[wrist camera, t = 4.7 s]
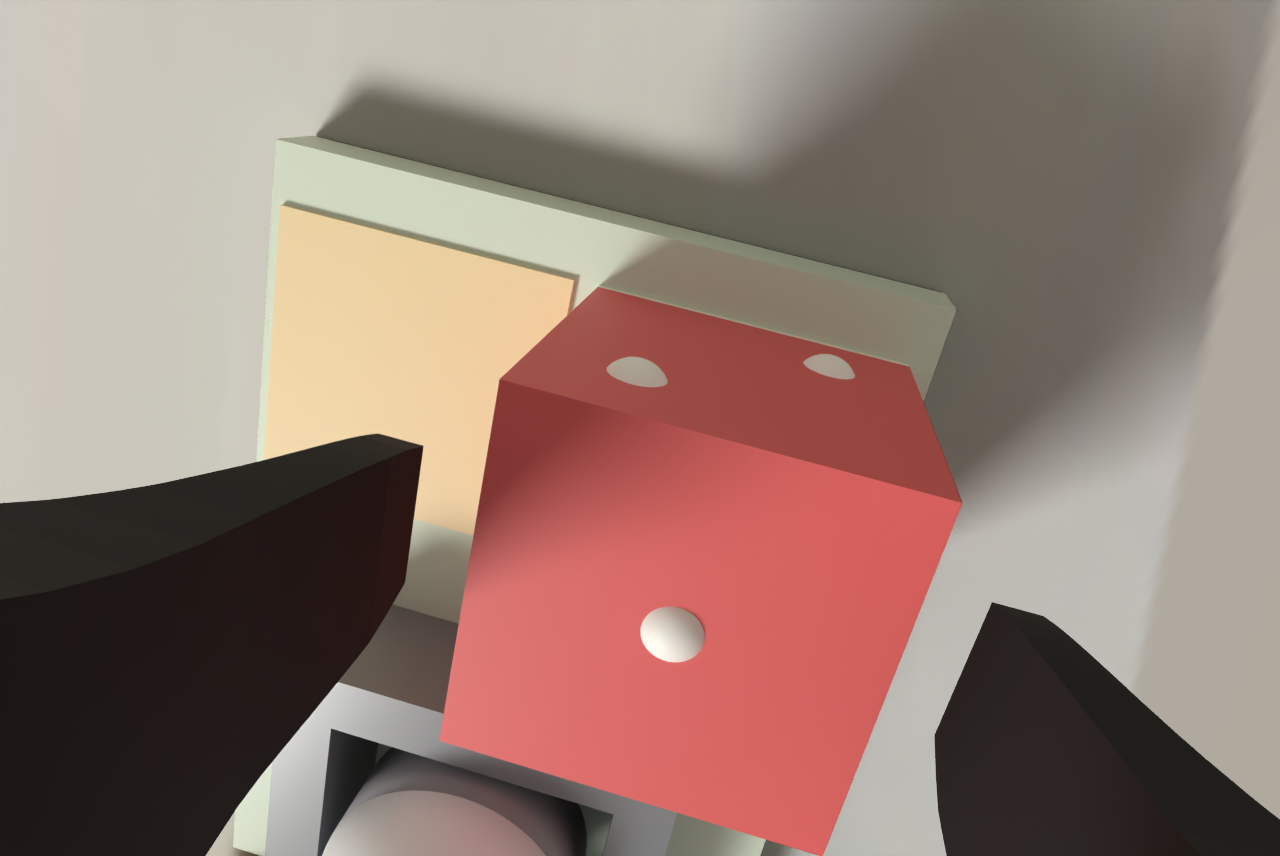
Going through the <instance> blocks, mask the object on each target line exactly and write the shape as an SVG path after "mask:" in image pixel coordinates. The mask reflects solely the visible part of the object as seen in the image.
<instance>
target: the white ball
mask: <svg viewBox="0 0 1280 856" xmlns="http://www.w3.org/2000/svg"><path fill="white" fill-rule="evenodd" d="M586 849H587V831H586V825H585V820H584V817H583V814H582V811H581V809H580V806H579V804H578V803H574V802H571V801H568V800H564V799H561V798H558V797H555V796H551V795H548V794H545V793H541V792H538V791H535V790H532V789H528V788H525V787H522V786H518V785H515V784H512V783H509V782H505V781H502V780H499V779H495V778H492V777H489V776H486V775H482V774H479V773H476V772H472V771H469V770H466V769H463V768H459V767H456V766H453V765H449V764H446V763H443V762H440V761H436V760H433V759H430V758H426V757H423V756H420V755H417V754H413V753H410V752H407V751H403V750H400V749H397V748H393V747H392V748H390V749H389V750H388V751H387V752H386V753H385V754H384V755H383V756H382V757H381V758H380V760H379V761H378V763H377V764H376V766H375V767H374V769H373V771H372V772H371V774H370V775H369V777H368V778H367V780H366V782H365V783H364V785H363V786H362V788H361V789H360V791H359V793H358V794H357V796H356V797H355V799H354V800H353V802H352V804H351V805H350V807H349V808H348V810H347V811H346V813H345V815H344V816H343V818H342V819H341V821H340V822H339V824H338V826H337V827H336V829H335V830H334V832H333V834H332V835H331V837H330V839H329V841H328V843H327V845H326V847H325V850H324V852H323V855H322V856H585V855H586Z"/></svg>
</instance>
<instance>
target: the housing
mask: <svg viewBox="0 0 1280 856" xmlns="http://www.w3.org/2000/svg"><path fill="white" fill-rule="evenodd" d="M458 625H459V624H458V623H454V622H451V621H448V620H444V619H441V618H437V617H434V616H430V615H427V614H423V613H420V612H417V611H413V610H410V609H406V608H403V607H399V606H396V605H392V606H391V608H390V610H389V611H388V613H387V615H386V617H385V618H384V620H383V621H382V623H381V625H380V626H379V628H378V629H377V631H376V633H375V634H374V636H373V637H372V639H371V641H370V642H369V644H368V645H367V646H366V648H365V649H364V650H363V651H362V653H361V654H360V655H359V656H358V658H357V659H356V660H355V661H354V663H353V664H352V665H351V666H350V668H349V669H348V670H347V671H346V673H345V674H344V675H343V676H342V678H341V679H340V680H339V681H338V683H337V684H336V685H335V686H334V688H333V689H332V690H331V691H330V692H329V694H328V695H327V696H326V697H325V698H324V700H323V701H322V702H321V703H320V705H319V706H318V707H317V708H316V709H315V711H314V712H313V713H312V714H311V716H310V717H309V718H308V719H307V720H306V722H305V723H304V724H303V725H302V726H301V728H300V729H299V730H298V731H297V733H296V734H295V735H294V736H293V737H292V739H291V740H290V741H289V742H288V744H287V745H286V746H285V747H284V748H283V750H282V751H281V752H280V753H279V754H278V756H277V757H276V758H275V759H274V761H273V762H272V771H271V784H270V797H269V809H268V822H267V835H266V847H265V856H322V855H323V852H324V850H325V847H326V845H327V843H328V841H329V839H330V837H331V835H332V834H333V832H334V830H335V829H336V827H337V826H338V824H339V822H340V821H341V819H342V818H343V816H344V815H345V813H346V811H347V810H348V808H349V807H350V805H351V804H352V802H353V800H354V799H355V797H356V796H357V794H358V793H359V791H360V789H361V788H362V786H363V785H364V783H365V782H366V780H367V778H368V777H369V775H370V774H371V772H372V771H373V769H374V767H375V761H376V754H377V746H378V743H380V744H384V745H387V746H390V747H393V748H397V749H400V750H403V751H407V752H410V753H413V754H417V755H420V756H423V757H426V758H430V759H433V760H436V761H440V762H443V763H446V764H449V765H453V766H456V767H459V768H463V769H466V770H469V771H472V772H476V773H479V774H482V775H486V776H489V777H492V778H495V779H499V780H502V781H505V782H509V783H512V784H515V785H518V786H522V787H525V788H528V789H532V790H535V791H538V792H541V793H545V794H548V795H551V796H555V797H558V798H561V799H564V800H568V801H571V802H574V803H578V804H581V805H584V806H587V807H591V808H594V809H597V810H601V811H604V812H607V813H610V814H613V816H612V820H611V824H610V827H609V831H608V835H607V838H606V842H605V846H604V850H603V853H602V856H665V853H666V850H667V847H668V843H669V840H670V837H671V834H672V830H673V827H674V824H675V820H676V817H677V814H678V813H676V812H673V811H670V810H666V809H663V808H660V807H657V806H653V805H650V804H647V803H643V802H640V801H637V800H633V799H630V798H627V797H623V796H620V795H617V794H614V793H610V792H607V791H604V790H600V789H597V788H594V787H590V786H587V785H584V784H581V783H577V782H574V781H571V780H567V779H564V778H561V777H557V776H554V775H551V774H547V773H544V772H541V771H538V770H534V769H531V768H528V767H524V766H521V765H518V764H514V763H511V762H508V761H504V760H501V759H498V758H495V757H491V756H488V755H485V754H481V753H478V752H475V751H471V750H468V749H465V748H461V747H458V746H455V745H452V744H448V743H445V742H442V741H439V739H440V733H441V727H442V721H443V715H444V709H445V703H446V697H447V691H448V685H449V679H450V673H451V667H452V661H453V655H454V649H455V643H456V637H457V631H458Z"/></svg>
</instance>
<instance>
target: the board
mask: <svg viewBox="0 0 1280 856" xmlns="http://www.w3.org/2000/svg"><path fill="white" fill-rule="evenodd" d="M597 287H601V288H605V289H609V290H613V291H617V292H621V293H625V294H628V295H632V296H636V297H640V298H644V299H648V300H652V301H656V302H660V303H663V304H667V305H671V306H675V307H679V308H683V309H687V310H691V311H695V312H698V313H702V314H706V315H710V316H714V317H718V318H722V319H726V320H730V321H734V322H737V323H741V324H745V325H749V326H753V327H757V328H761V329H765V330H769V331H772V332H776V333H780V334H784V335H788V336H792V337H796V338H800V339H804V340H808V341H811V342H815V343H819V344H823V345H827V346H831V347H835V348H839V349H843V350H846V351H850V352H854V353H858V354H862V355H866V356H870V357H874V358H878V359H882V360H885V361H889V362H893V363H897V364H901V365H905V366H909V367H910V369H911V371H912V374H913V377H914V379H915V382H916V384H917V387H918V389H919V392H920V395H921V397H922V400H923V402H924V399H925V397H926V394H927V391H928V388H929V385H930V383H931V380H932V377H933V374H934V372H935V369H936V366H937V363H938V360H939V358H940V355H941V352H942V349H943V347H944V344H945V341H946V338H947V335H948V333H949V330H950V327H951V324H952V322H953V319H954V316H955V313H956V308H955V307H954V305H953V304H952V302H951V301H950V300H949V298H948V297H947V295H946V294H945V293H941V292H937V291H933V290H929V289H925V288H921V287H917V286H913V285H909V284H905V283H901V282H897V281H893V280H889V279H885V278H881V277H877V276H873V275H869V274H865V273H861V272H857V271H853V270H849V269H845V268H841V267H837V266H833V265H829V264H825V263H821V262H817V261H813V260H809V259H805V258H801V257H797V256H793V255H789V254H785V253H781V252H777V251H773V250H769V249H765V248H761V247H757V246H753V245H749V244H745V243H741V242H737V241H733V240H729V239H725V238H721V237H717V236H713V235H709V234H705V233H701V232H697V231H693V230H689V229H685V228H681V227H677V226H673V225H669V224H665V223H661V222H657V221H653V220H649V219H645V218H641V217H637V216H633V215H629V214H625V213H621V212H617V211H613V210H609V209H605V208H601V207H597V206H593V205H589V204H584V203H580V202H576V201H572V200H568V199H564V198H560V197H556V196H552V195H548V194H544V193H540V192H536V191H532V190H528V189H524V188H520V187H516V186H512V185H508V184H504V183H500V182H496V181H492V180H488V179H484V178H480V177H476V176H472V175H468V174H464V173H460V172H456V171H452V170H448V169H444V168H440V167H436V166H432V165H428V164H424V163H420V162H416V161H412V160H408V159H404V158H400V157H396V156H392V155H388V154H384V153H380V152H376V151H372V150H368V149H364V148H360V147H356V146H352V145H348V144H344V143H340V142H336V141H332V140H328V139H324V138H320V137H316V136H305V137H294V138H282V139H276V141H275V157H274V174H273V191H272V207H271V224H270V240H269V257H268V273H267V290H266V307H265V323H264V340H263V356H262V373H261V389H260V406H259V422H258V439H257V456H256V462H259V461H262V460H266V459H270V458H274V457H278V456H282V455H285V454H289V453H293V452H297V451H301V450H305V449H308V448H312V447H316V446H320V445H324V444H328V443H331V442H335V441H340V440H344V439H348V438H353V437H357V436H363V435H369V434H378V433H379V434H382V435H386V436H390V437H393V438H397V439H400V440H404V441H408V442H411V443H415V444H419V445H422V446H424V447H423V454H422V462H421V469H420V477H419V484H418V491H417V499H416V506H415V513H414V521H413V528H412V536H411V543H410V550H409V558H408V565H407V573H406V580H405V584H404V586H403V587H402V589H401V591H400V592H399V594H398V596H397V598H396V599H395V601H394V603H393V605H396V606H399V607H403V608H406V609H410V610H413V611H417V612H420V613H423V614H427V615H430V616H434V617H437V618H441V619H444V620H448V621H451V622H454V623H458V624H459V619H460V613H461V607H462V601H463V595H464V589H465V583H466V577H467V571H468V565H469V559H470V553H471V547H472V541H473V535H474V529H475V523H476V517H477V511H478V505H479V499H480V493H481V487H482V481H483V475H484V469H485V463H486V457H487V451H488V445H489V439H490V433H491V427H492V421H493V415H494V409H495V403H496V397H497V391H498V385H499V379H500V378H501V377H502V376H503V375H504V374H506V373H507V372H508V371H509V370H510V369H511V368H512V367H513V366H514V365H515V364H516V363H517V362H518V361H519V360H520V359H521V358H523V357H524V356H525V355H526V354H527V353H528V352H529V351H530V350H531V349H532V348H533V347H534V346H535V345H536V344H537V343H539V342H540V341H541V340H542V339H543V338H544V337H545V336H546V335H547V334H548V333H549V332H550V331H551V330H552V329H553V328H554V327H556V326H557V325H558V324H559V323H560V322H561V321H562V320H563V319H564V318H565V317H566V316H567V315H568V314H569V313H570V312H572V311H573V310H574V309H575V308H576V307H577V306H578V305H579V304H580V303H581V302H582V301H583V300H584V299H585V298H586V297H587V296H589V295H590V294H591V293H592V292H593V291H594V290H595V289H596V288H597ZM390 748H392V747H390V746H387V745H384V744H380V743H378V746H377V754H376V761H375V766H376V764H377V763H378V761H379V760H380V758H381V757H382V756H383V755H384V754H385V753H386V752H387V751H388V750H389V749H390ZM271 771H272V763H271V764H270V765H269V767H268V768H267V769H266V770H265V772H264V773H263V774H262V775H261V776H260V778H259V779H258V780H257V782H256V783H255V784H254V786H253V787H252V788H251V790H250V791H249V792H248V794H247V795H246V796H245V798H244V799H243V800H242V802H241V803H240V804H239V806H238V807H237V809H236V810H235V820H234V836H233V847H235V848H238V849H241V850H244V851H247V852H251V853H254V854H257V855H260V856H265V847H266V835H267V822H268V809H269V797H270V784H271ZM579 806H580V809H581V811H582V814H583V817H584V820H585V825H586V831H587V849H586V855H585V856H602V853H603V850H604V846H605V842H606V838H607V835H608V831H609V827H610V824H611V820H612V816H613V814H610V813H607V812H604V811H601V810H597V809H594V808H591V807H587V806H584V805H581V804H579ZM765 841H766V839H762V838H759V837H756V836H752V835H749V834H746V833H743V832H739V831H736V830H733V829H729V828H726V827H723V826H719V825H716V824H713V823H709V822H706V821H703V820H700V819H696V818H693V817H690V816H686V815H683V814H680V813H678V814H677V817H676V820H675V824H674V827H673V830H672V834H671V837H670V840H669V843H668V847H667V850H666V853H665V856H760V855H761V852H762V849H763V846H764V844H765Z"/></svg>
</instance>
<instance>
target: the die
mask: <svg viewBox="0 0 1280 856" xmlns="http://www.w3.org/2000/svg"><path fill="white" fill-rule="evenodd" d="M961 505H962V501H961V498H960V495H959V493H958V490H957V488H956V485H955V483H954V480H953V477H952V475H951V472H950V470H949V467H948V464H947V462H946V459H945V457H944V454H943V452H942V449H941V446H940V444H939V441H938V439H937V436H936V433H935V431H934V428H933V426H932V423H931V421H930V418H929V415H928V413H927V410H926V408H925V405H924V402H923V400H922V397H921V395H920V392H919V389H918V387H917V384H916V382H915V379H914V377H913V374H912V371H911V369H910V367H909V366H905V365H901V364H897V363H893V362H889V361H885V360H882V359H878V358H874V357H870V356H866V355H862V354H858V353H854V352H850V351H846V350H843V349H839V348H835V347H831V346H827V345H823V344H819V343H815V342H811V341H808V340H804V339H800V338H796V337H792V336H788V335H784V334H780V333H776V332H772V331H769V330H765V329H761V328H757V327H753V326H749V325H745V324H741V323H737V322H734V321H730V320H726V319H722V318H718V317H714V316H710V315H706V314H702V313H698V312H695V311H691V310H687V309H683V308H679V307H675V306H671V305H667V304H663V303H660V302H656V301H652V300H648V299H644V298H640V297H636V296H632V295H628V294H625V293H621V292H617V291H613V290H609V289H605V288H601V287H597V288H596V289H595V290H594V291H593V292H592V293H591V294H590V295H589V296H587V297H586V298H585V299H584V300H583V301H582V302H581V303H580V304H579V305H578V306H577V307H576V308H575V309H574V310H573V311H572V312H570V313H569V314H568V315H567V316H566V317H565V318H564V319H563V320H562V321H561V322H560V323H559V324H558V325H557V326H556V327H554V328H553V329H552V330H551V331H550V332H549V333H548V334H547V335H546V336H545V337H544V338H543V339H542V340H541V341H540V342H539V343H537V344H536V345H535V346H534V347H533V348H532V349H531V350H530V351H529V352H528V353H527V354H526V355H525V356H524V357H523V358H521V359H520V360H519V361H518V362H517V363H516V364H515V365H514V366H513V367H512V368H511V369H510V370H509V371H508V372H507V373H506V374H504V375H503V376H502V377H501V378H500V379H499V385H498V391H497V397H496V403H495V409H494V415H493V421H492V427H491V433H490V439H489V445H488V451H487V457H486V463H485V469H484V475H483V481H482V487H481V493H480V499H479V505H478V511H477V517H476V523H475V529H474V535H473V541H472V547H471V553H470V559H469V565H468V571H467V577H466V583H465V589H464V595H463V601H462V607H461V613H460V619H459V625H458V631H457V637H456V643H455V649H454V655H453V661H452V667H451V673H450V679H449V685H448V691H447V697H446V703H445V709H444V715H443V721H442V727H441V733H440V739H439V741H442V742H445V743H448V744H452V745H455V746H458V747H461V748H465V749H468V750H471V751H475V752H478V753H481V754H485V755H488V756H491V757H495V758H498V759H501V760H504V761H508V762H511V763H514V764H518V765H521V766H524V767H528V768H531V769H534V770H538V771H541V772H544V773H547V774H551V775H554V776H557V777H561V778H564V779H567V780H571V781H574V782H577V783H581V784H584V785H587V786H590V787H594V788H597V789H600V790H604V791H607V792H610V793H614V794H617V795H620V796H623V797H627V798H630V799H633V800H637V801H640V802H643V803H647V804H650V805H653V806H657V807H660V808H663V809H666V810H670V811H673V812H676V813H680V814H683V815H686V816H690V817H693V818H696V819H700V820H703V821H706V822H709V823H713V824H716V825H719V826H723V827H726V828H729V829H733V830H736V831H739V832H743V833H746V834H749V835H752V836H756V837H759V838H762V839H766V840H769V841H772V842H776V843H779V844H782V845H786V846H789V847H792V848H795V849H799V850H802V851H805V852H809V853H812V854H815V855H819V856H823V854H824V851H825V849H826V846H827V844H828V841H829V839H830V836H831V834H832V831H833V829H834V826H835V824H836V821H837V819H838V816H839V814H840V811H841V809H842V806H843V803H844V801H845V798H846V796H847V793H848V791H849V788H850V786H851V783H852V781H853V778H854V776H855V773H856V771H857V768H858V766H859V763H860V761H861V758H862V755H863V753H864V750H865V748H866V745H867V743H868V740H869V738H870V735H871V733H872V730H873V728H874V725H875V723H876V720H877V718H878V715H879V712H880V710H881V707H882V705H883V702H884V700H885V697H886V695H887V692H888V690H889V687H890V685H891V682H892V680H893V677H894V675H895V672H896V670H897V667H898V664H899V662H900V659H901V657H902V654H903V652H904V649H905V647H906V644H907V642H908V639H909V637H910V634H911V632H912V629H913V627H914V624H915V622H916V619H917V616H918V614H919V611H920V609H921V606H922V604H923V601H924V599H925V596H926V594H927V591H928V589H929V586H930V584H931V581H932V579H933V576H934V574H935V571H936V568H937V566H938V563H939V561H940V558H941V556H942V553H943V551H944V548H945V546H946V543H947V541H948V538H949V536H950V533H951V531H952V528H953V525H954V523H955V520H956V518H957V515H958V513H959V510H960V508H961Z"/></svg>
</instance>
